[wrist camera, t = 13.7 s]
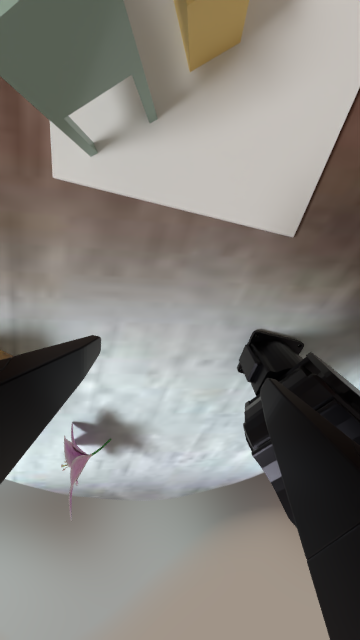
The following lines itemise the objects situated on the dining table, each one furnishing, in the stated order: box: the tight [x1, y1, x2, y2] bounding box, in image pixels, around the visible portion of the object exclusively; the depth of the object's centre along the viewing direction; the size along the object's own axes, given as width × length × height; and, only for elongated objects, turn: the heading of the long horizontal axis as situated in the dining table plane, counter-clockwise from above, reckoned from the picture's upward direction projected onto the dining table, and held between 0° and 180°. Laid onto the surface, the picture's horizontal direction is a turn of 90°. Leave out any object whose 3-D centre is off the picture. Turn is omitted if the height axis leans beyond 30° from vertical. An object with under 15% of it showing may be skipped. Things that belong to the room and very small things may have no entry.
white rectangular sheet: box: [50, 0, 360, 237], centre depth 14 cm, size 25×20×1 cm
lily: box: [61, 423, 112, 520], centre depth 30 cm, size 12×12×10 cm
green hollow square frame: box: [0, 0, 158, 157], centre depth 10 cm, size 7×7×10 cm
